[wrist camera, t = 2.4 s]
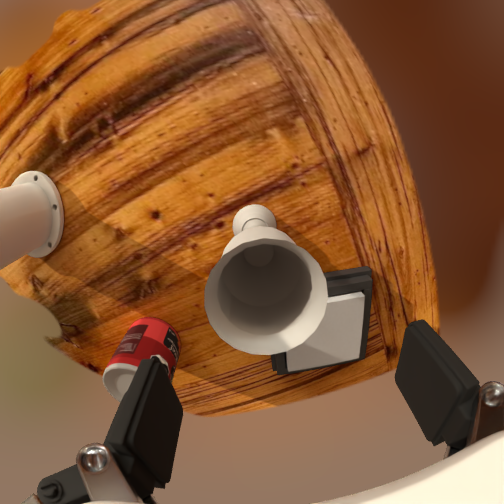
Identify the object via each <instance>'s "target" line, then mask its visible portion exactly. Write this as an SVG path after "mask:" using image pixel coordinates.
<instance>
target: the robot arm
mask: <svg viewBox="0 0 504 504" xmlns="http://www.w3.org/2000/svg"><path fill="white" fill-rule="evenodd" d="M63 226H64V211H63V205H62V201H61V198H60V194H59V192H58V190H57V188H56V186H55V185H54V183H53V182H52V180H51V179H50V178H49V177H48V176H47V175H45V174H43V173H42V172H38V171H29V172H25V173H23V174H21V175H20V176H19V177H18V178H16V180H15V181H14V182H13V184H12V186H11V187H7V188H2V189H0V270H1V269H3V268H4V267H6V266H7V265H9V264H11V263H12V262H14V261H16V260H18V259H19V258H21V257H23V256H24V255H26V254H27V255H29V256H31V257H36V258H39V257H44V256H46V255H48V254H49V253H51V252H52V251H53V250H54V249H55V248H56V247H57V245H58V244H59V241H60V239H61V236H62V232H63ZM395 381H396V384H397V386H398V388H399V389H400V391H401V393H402V395H403V396H404V398H405V400H406V402H407V404H408V405H409V407H410V409H411V411H412V413H413V414H414V416H415V418H416V420H417V422H418V424H419V426H420V427H421V429H422V431H423V433H424V435H425V437H426V439H427V440H428V441H431V442H432V444H433V446H436V445H438V444H440V443H442V442H444V441H445V442H446V444H447V448H446V452H445V455H444V459H443V460H442V461H440V462H438V463H435V464H433V465H431V466H429V467H427V468H425V469H423V470H420V471H418V472H416V473H414V474H411V475H409V476H406V477H404V478H401V479H399V480H396V481H393V482H391V483H388V484H385V485H382V486H379V487H376V488H373V489H369V490H366V491H363V492H360V493H356V494H352V495H348V496H345V497H340V498H336V499H332V500H327V501H322V502H317V503H311V504H504V385H503V384H501V383H499V382H495V381H490V382H487V383H485V384H484V385H482V387H480V385H479V381H478V380H477V379H476V377H475V376H474V375H473V374H472V373H471V371H470V370H469V369H468V368H467V367H466V366H465V364H464V363H463V362H462V361H461V360H460V358H459V357H458V356H457V355H456V354H455V353H454V352H453V351H452V349H451V348H450V347H449V346H448V345H447V344H446V343H445V342H444V341H443V340H442V338H441V337H440V336H439V335H438V334H437V333H436V332H435V331H434V330H433V329H432V328H431V326H430V325H429V324H428V323H427V322H426V321H425V320H418V321H415V322H411V323H410V324H409V326H408V327H407V328H406V329H405V334H404V339H403V344H402V348H401V353H400V357H399V361H398V366H397V370H396V373H395ZM182 417H183V408H182V405H181V403H180V401H179V399H178V397H177V395H176V393H175V390H174V388H173V386H172V384H171V381H170V379H169V377H168V374H167V372H166V370H165V367H164V365H163V363H159V361H158V360H157V359H142V360H141V362H140V364H139V366H138V368H137V370H136V373H135V375H134V377H133V379H132V382H131V384H130V386H129V388H128V391H127V392H125V394H124V396H123V398H122V400H121V403H120V405H119V407H118V410H117V412H116V414H115V417H114V419H113V421H112V424H111V426H110V429H109V431H108V434H107V436H106V439H105V442H104V444H100V443H91V444H88V445H86V446H84V447H83V448H82V449H81V450H80V451H79V452H78V454H77V457H76V463H77V464H76V465H74V466H71V467H69V468H67V469H64V470H62V471H60V472H58V473H55V474H53V475H50V476H48V477H46V478H44V479H42V481H41V482H40V483H39V485H38V488H37V493H38V494H37V495H35V494H32V495H31V496H30V497H29V498H27V499H26V500H25V501H24V502H22V503H21V504H159V503H158V502H157V500H156V499H155V497H154V496H153V490H154V487H156V488H164V489H165V484H166V483H168V482H169V481H170V479H171V473H172V468H173V462H174V457H175V452H176V447H177V442H178V436H179V431H180V426H181V422H182Z"/></svg>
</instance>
